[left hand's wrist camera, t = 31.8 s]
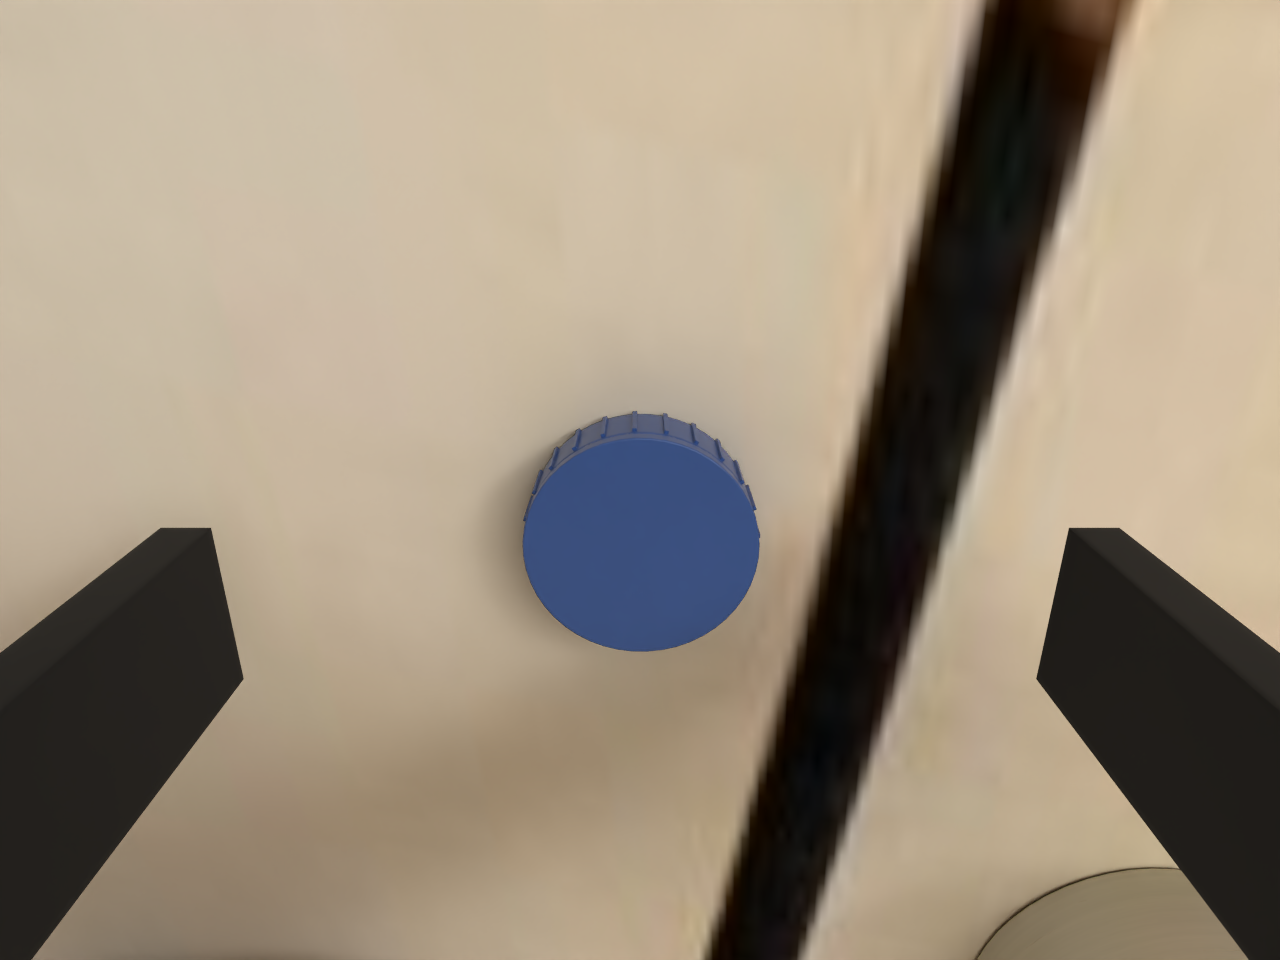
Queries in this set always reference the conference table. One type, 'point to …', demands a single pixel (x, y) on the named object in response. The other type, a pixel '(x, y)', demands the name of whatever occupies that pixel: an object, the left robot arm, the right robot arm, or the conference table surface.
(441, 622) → the conference table surface
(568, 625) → the cap
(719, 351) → the conference table surface
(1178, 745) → the left robot arm
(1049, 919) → the bottle
